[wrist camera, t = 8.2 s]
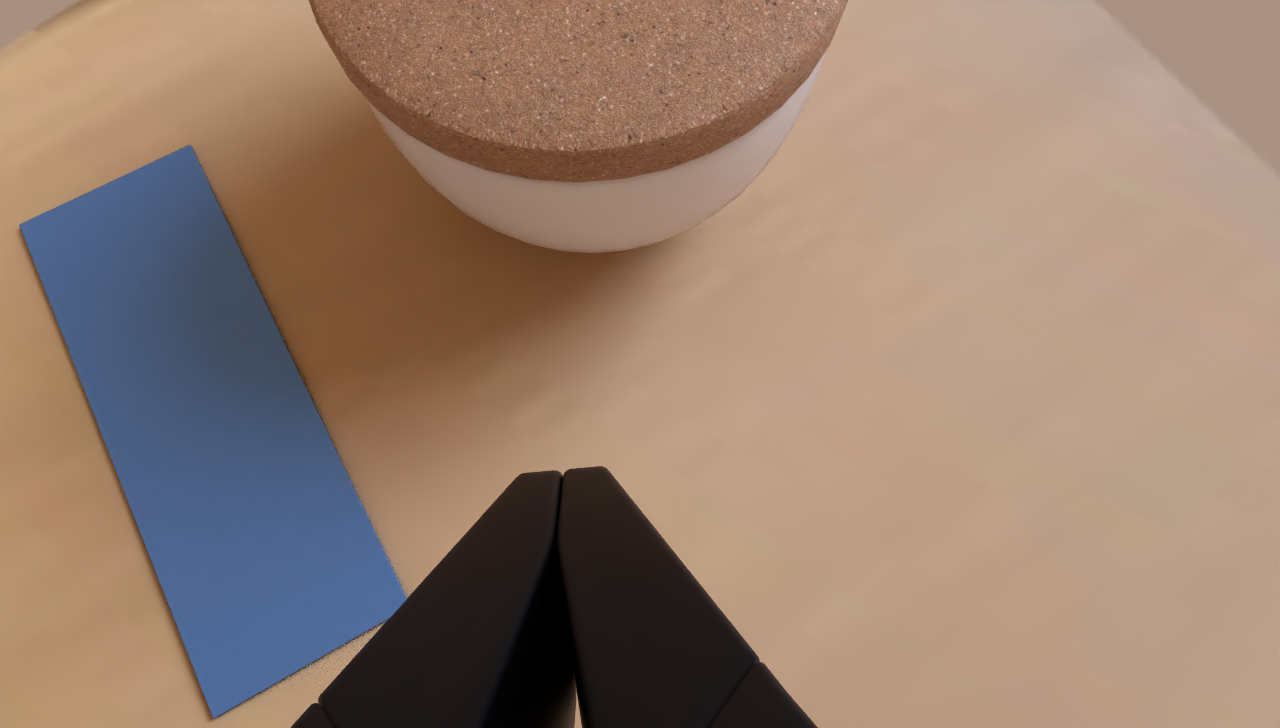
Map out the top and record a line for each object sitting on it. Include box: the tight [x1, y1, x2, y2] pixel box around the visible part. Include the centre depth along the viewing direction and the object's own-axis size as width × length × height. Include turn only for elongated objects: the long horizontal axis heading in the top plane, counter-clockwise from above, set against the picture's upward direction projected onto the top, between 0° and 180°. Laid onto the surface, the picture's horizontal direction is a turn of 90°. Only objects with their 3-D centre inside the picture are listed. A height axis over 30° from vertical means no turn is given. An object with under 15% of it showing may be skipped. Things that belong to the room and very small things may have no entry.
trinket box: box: [309, 0, 848, 253], centre depth 20 cm, size 11×11×9 cm
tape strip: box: [19, 145, 407, 718], centre depth 22 cm, size 5×14×1 cm, turn 30°
